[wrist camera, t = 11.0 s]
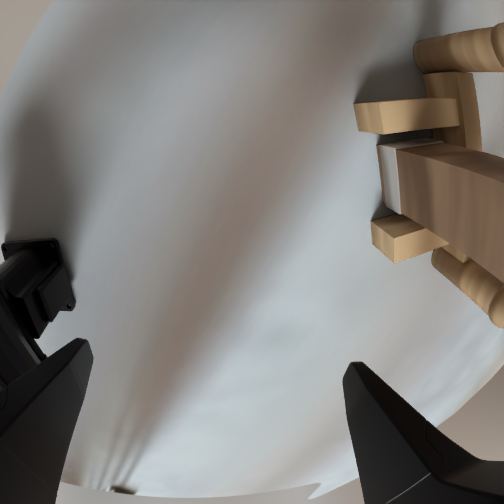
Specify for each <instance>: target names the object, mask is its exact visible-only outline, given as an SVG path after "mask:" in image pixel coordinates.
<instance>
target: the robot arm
mask: <svg viewBox="0 0 504 504" xmlns="http://www.w3.org/2000/svg"><path fill="white" fill-rule="evenodd" d="M51 243H52V244H53V245H54V247H53V246H52V245H51ZM6 248H7V249H6ZM1 249H2V253H3V256H4V260H5V261H4V262H3V263H2V264H1V265H0V504H55V502H56V497H57V491H58V487H59V483H60V479H61V475H62V471H63V467H64V463H65V459H66V456H67V452H68V448H69V445H70V442H71V438H72V435H73V432H74V428H75V425H76V422H77V419H78V416H79V413H80V410H81V407H82V404H83V401H84V397H85V394H86V389H87V385H88V381H89V376H90V372H91V368H92V364H93V354H92V351H91V348H90V345H89V342H88V340H86V339H82V338H76V339H74V340H73V341H71V342H70V343H68V344H67V345H65V346H64V347H62V348H61V349H59V350H58V351H56V352H55V353H54V354H52V355H51V356H49V357H47V356H46V354H44V353H43V352H42V350H41V349H40V347H39V346H38V344H37V343H36V341H35V340H34V339H39V338H40V336H41V335H42V333H43V331H44V330H45V328H46V327H47V325H48V323H49V322H53V320H54V319H55V317H56V316H57V314H58V312H59V311H72V310H73V309H74V308H75V302H74V299H73V296H72V290H71V287H70V283H69V280H68V276H67V273H66V269H65V266H64V264H63V260H62V256H61V252H60V248H59V244H58V241H57V240H56V239H54V238H48V239H34V240H21V241H8V242H4V243H3V244H2V245H1ZM68 304H70V305H71V306H69V305H68ZM343 390H344V398H345V407H346V416H347V422H348V426H349V431H350V435H351V439H352V444H353V448H354V453H355V458H356V462H357V467H358V472H359V477H360V482H361V487H362V492H363V497H364V502H365V504H504V461H486V460H481V459H479V458H477V457H475V456H473V455H471V454H470V453H469V452H467V451H466V450H464V449H463V448H462V447H460V446H459V445H457V444H456V443H454V442H453V441H452V440H450V439H449V438H448V437H446V436H445V435H444V434H443V433H441V432H440V431H439V430H438V429H437V428H436V427H434V426H433V425H432V424H431V423H430V422H429V421H426V419H425V418H424V417H423V416H422V415H421V414H420V413H419V412H417V411H416V410H415V409H414V408H413V407H412V406H411V405H410V404H409V403H407V402H406V401H405V400H404V399H403V398H402V397H401V396H400V395H399V394H397V393H396V392H395V391H394V390H393V389H392V388H391V387H390V386H389V385H387V384H386V383H385V382H384V381H383V380H382V379H381V378H380V377H379V376H378V375H376V374H375V373H374V372H373V371H372V370H371V369H370V368H369V367H368V366H366V365H365V364H364V363H363V362H351V363H350V364H349V366H348V368H347V370H346V372H345V374H344V377H343Z"/></svg>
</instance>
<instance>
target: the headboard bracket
mask: <svg viewBox="0 0 504 504" xmlns="http://www.w3.org/2000/svg"><path fill="white" fill-rule="evenodd" d="M413 55H414V59H415V62H416V64H417V65H418V67H419V68H420V69H421V70H422V71H423V72H425V73H427V74H422V75H423V79H424V84H425V89H426V94H427V98H417V99H400V100H386V101H376V102H366V103H357V104H354V109H355V114H356V119H357V124H358V129H359V131H362V132H370V133H377V134H391V133H398V132H405V131H413V130H422V129H431V128H432V134H433V139H436V140H441V141H443V142H444V143H447V144H452V145H456V146H461V147H465V148H469V149H473V150H477V151H480V152H482V141H481V128H480V119H479V110H478V103H477V96H476V90H475V84H474V79H473V74H472V73H465V72H504V23H499V24H497V25H495V26H494V27H489V28H482V29H475V30H469V31H463V32H458V33H453V34H448V35H443V36H438V37H434V38H430V39H426V40H422V41H418V42H417V43H416V44H415V45H414V48H413ZM371 230H372V244H373V245H374V246H375V247H376V248H377V249H379V250H380V251H381V252H382V253H383V254H384V255H385V256H386V257H387V258H389V259H390V260H391V261H392V262H393V263H394V264H395V263H397V262H400V261H403V260H406V259H409V258H412V257H414V256H417V255H420V254H423V253H425V252H428V251H431V250H434V249H435V250H434V252H433V254H432V265H433V267H434V268H435V269H437V270H438V271H439V272H440V273H441V274H443V275H444V276H445V277H446V278H447V279H449V280H450V281H451V282H452V283H453V284H454V285H456V286H457V287H458V288H459V289H460V290H461V291H462V292H463V293H465V294H466V295H467V296H468V297H469V298H470V299H471V300H472V301H473V302H475V303H476V304H477V305H478V306H479V307H480V308H481V309H482V310H483V311H484V312H485V313H486V314H487V315H488V316H489V318H490V320H491V321H492V323H493V324H494V325H496V326H497V327H499V328H504V283H503V282H502V281H500V280H499V279H498V278H496V277H495V276H494V275H492V274H491V273H490V272H489V271H487V270H486V269H485V268H483V267H482V266H481V265H479V264H478V263H476V262H475V261H474V260H472V259H471V258H469V257H468V256H467V255H465V254H464V253H462V252H461V251H460V250H458V249H457V248H455V247H454V246H452V245H451V244H449V243H448V242H446V241H445V240H443V239H442V238H440V237H439V236H437V235H436V234H434V233H433V232H431V231H430V230H428V229H426V228H425V227H423V226H422V225H420V224H418V223H417V222H415V221H414V220H412V219H410V218H409V217H407V216H405V215H404V214H395V215H391V216H388V217H384V218H381V219H377V220H373V221H371Z"/></svg>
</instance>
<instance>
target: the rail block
mask: <svg viewBox="0 0 504 504" xmlns="http://www.w3.org/2000/svg"><path fill="white" fill-rule="evenodd" d="M376 146H377V153H378V160H379V168H380V177H381V186H382V197H383V203H385V204H386V207H388V208H390V209H392V210H393V211H395V212H397V213H398V214H404V215H405V216H407V217H409V218H410V219H412V220H414V221H415V222H417V223H418V224H420V225H422V226H423V227H425V228H426V229H428V230H430V231H431V232H433V233H434V234H436V235H437V236H439V237H440V238H442V239H443V240H445V241H446V242H448V243H449V244H451V245H452V246H454V247H455V248H457V249H458V250H460V251H461V252H462V253H464V254H465V255H467V256H468V257H469V258H471V259H472V260H474V261H475V262H476V263H478V264H479V265H481V266H482V267H483V268H485V269H486V270H487V271H489V272H490V273H491V274H492V275H494V276H495V277H496V278H498V279H499V280H500V281H502V282H503V283H504V158H502V157H498V156H495V155H491V154H488V153H484V152H480V151H477V150H473V149H469V148H465V147H461V146H456V145H452V144H447V143H444V142H443V141H441V140H436V139H430V138H423V139H422V138H421V139H414V140H407V141H400V142H393V143H387V144H381V145H376Z"/></svg>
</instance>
